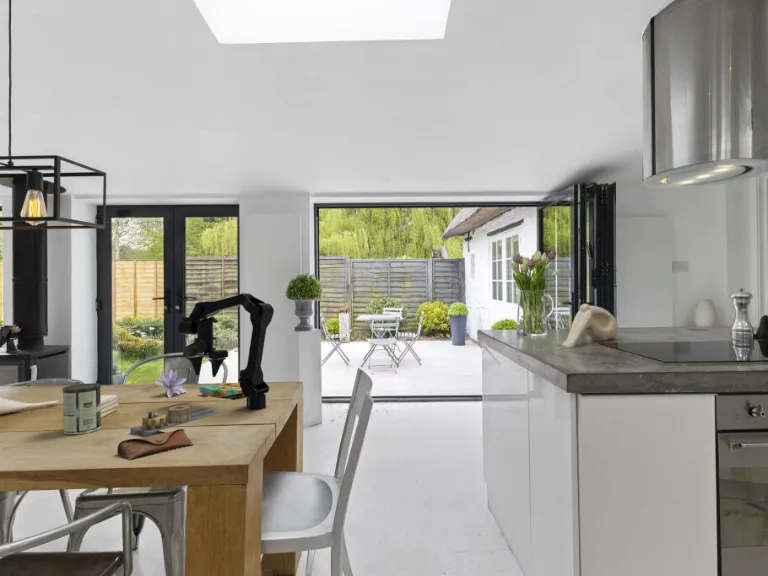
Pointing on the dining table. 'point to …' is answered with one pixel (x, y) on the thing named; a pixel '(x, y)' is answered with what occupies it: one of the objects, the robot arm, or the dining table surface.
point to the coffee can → (82, 408)
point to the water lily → (171, 383)
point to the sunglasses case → (153, 444)
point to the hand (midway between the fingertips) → (205, 376)
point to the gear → (179, 413)
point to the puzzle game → (221, 390)
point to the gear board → (193, 417)
